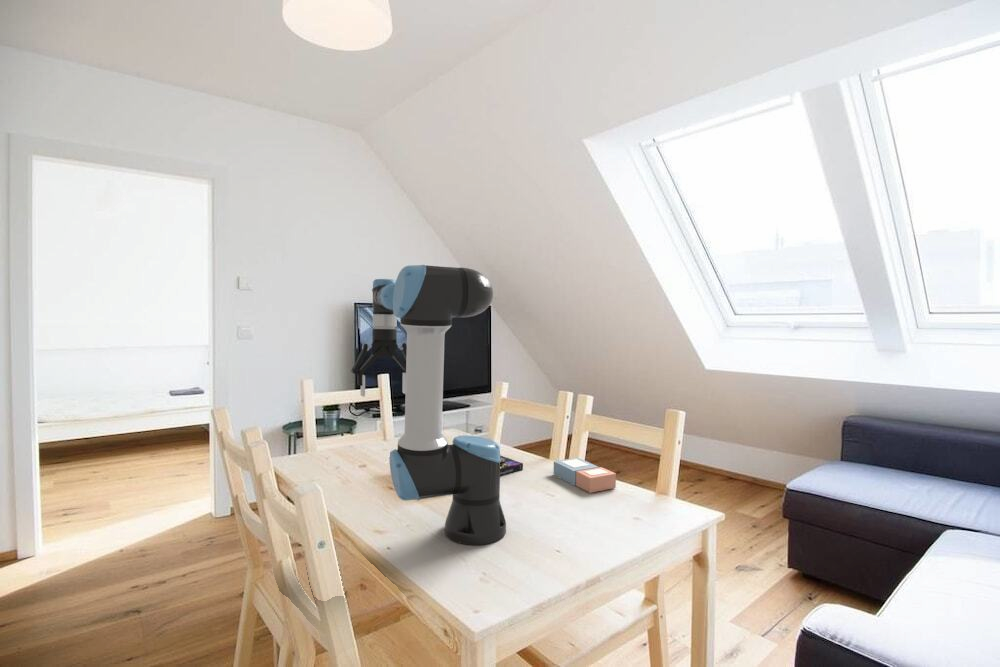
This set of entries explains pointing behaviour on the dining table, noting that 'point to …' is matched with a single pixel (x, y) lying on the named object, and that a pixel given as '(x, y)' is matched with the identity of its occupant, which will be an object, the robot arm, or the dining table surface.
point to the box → (510, 466)
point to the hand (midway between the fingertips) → (384, 394)
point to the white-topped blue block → (571, 468)
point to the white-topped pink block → (595, 479)
